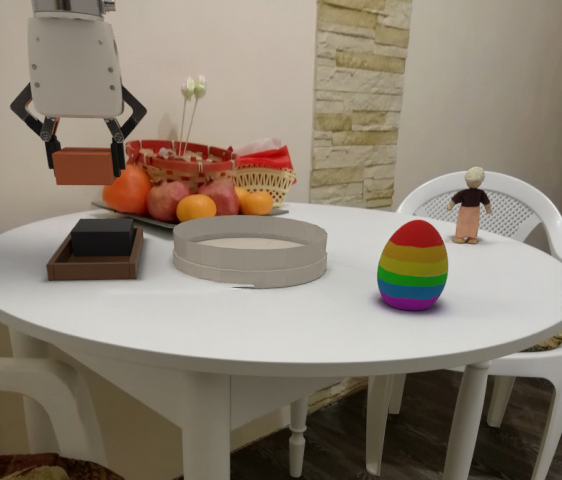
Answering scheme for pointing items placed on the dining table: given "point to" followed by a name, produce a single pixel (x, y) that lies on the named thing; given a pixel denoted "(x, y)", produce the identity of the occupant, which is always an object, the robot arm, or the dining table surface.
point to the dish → (251, 250)
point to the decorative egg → (413, 267)
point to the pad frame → (94, 263)
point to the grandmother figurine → (470, 206)
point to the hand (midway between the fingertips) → (88, 174)
